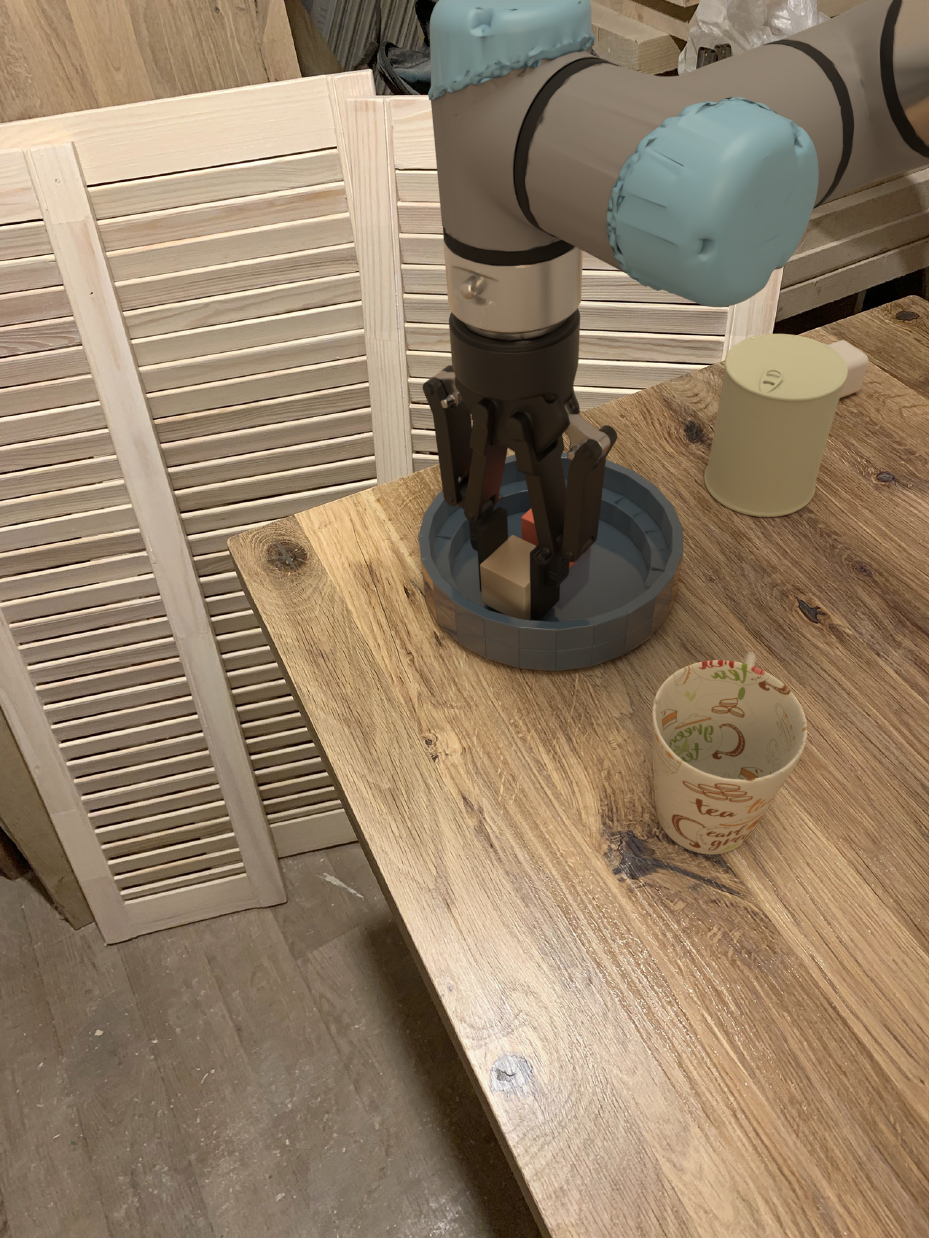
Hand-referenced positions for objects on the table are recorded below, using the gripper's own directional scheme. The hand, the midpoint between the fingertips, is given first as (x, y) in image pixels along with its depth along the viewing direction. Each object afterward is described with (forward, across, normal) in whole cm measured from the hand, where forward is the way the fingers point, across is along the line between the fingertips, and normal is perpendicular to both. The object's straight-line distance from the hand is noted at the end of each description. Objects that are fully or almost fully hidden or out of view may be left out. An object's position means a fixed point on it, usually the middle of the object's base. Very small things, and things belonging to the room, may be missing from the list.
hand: (519, 595), depth 70 cm
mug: (+2, +19, -5) cm, 20 cm away
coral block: (+1, -1, +6) cm, 7 cm away
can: (+2, +8, +24) cm, 25 cm away
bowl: (+2, 0, +4) cm, 4 cm away
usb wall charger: (+2, +6, +39) cm, 39 cm away
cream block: (0, 0, 0) cm, 0 cm away
